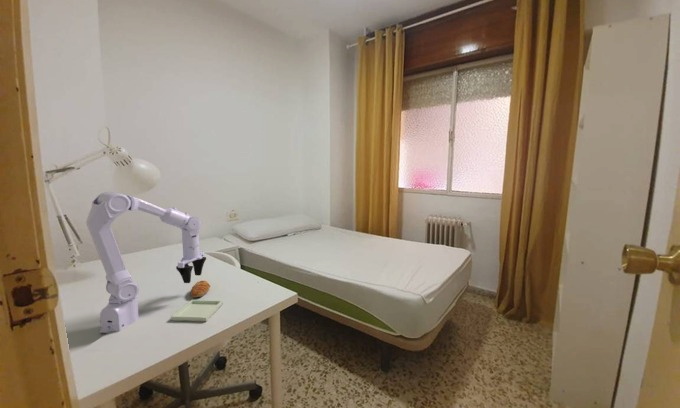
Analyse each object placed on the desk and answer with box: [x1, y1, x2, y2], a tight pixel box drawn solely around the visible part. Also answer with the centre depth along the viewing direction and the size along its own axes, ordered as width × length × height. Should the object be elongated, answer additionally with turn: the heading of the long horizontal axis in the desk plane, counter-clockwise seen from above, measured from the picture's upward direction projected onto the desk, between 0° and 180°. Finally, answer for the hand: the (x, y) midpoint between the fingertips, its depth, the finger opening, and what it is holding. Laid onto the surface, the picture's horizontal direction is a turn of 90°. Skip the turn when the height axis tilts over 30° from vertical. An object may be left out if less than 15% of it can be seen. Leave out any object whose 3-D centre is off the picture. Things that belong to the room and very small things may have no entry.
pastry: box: [190, 280, 211, 298], centre depth 108 cm, size 9×7×4 cm
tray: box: [170, 299, 224, 323], centre depth 94 cm, size 12×12×2 cm
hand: (192, 278), depth 105 cm, fingers open, 7 cm apart
